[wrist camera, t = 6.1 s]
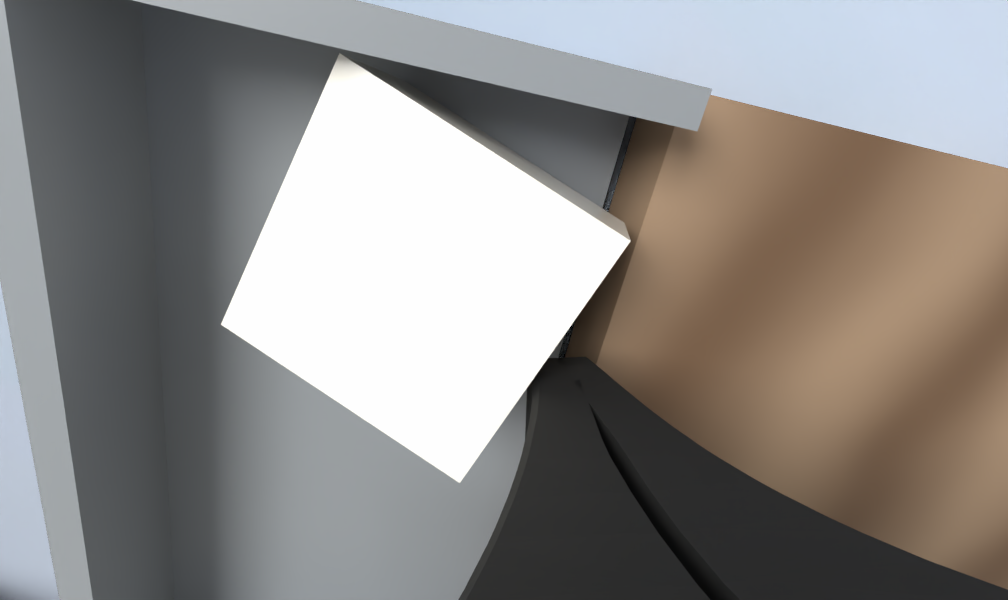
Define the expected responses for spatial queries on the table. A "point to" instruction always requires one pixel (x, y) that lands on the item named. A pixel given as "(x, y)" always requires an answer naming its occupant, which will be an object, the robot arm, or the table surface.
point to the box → (214, 279)
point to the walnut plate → (821, 320)
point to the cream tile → (418, 266)
